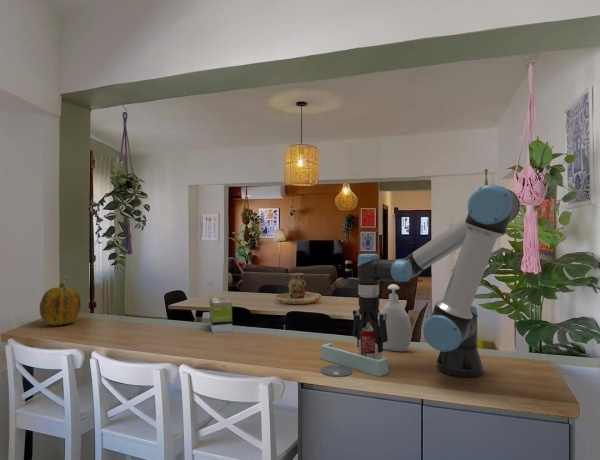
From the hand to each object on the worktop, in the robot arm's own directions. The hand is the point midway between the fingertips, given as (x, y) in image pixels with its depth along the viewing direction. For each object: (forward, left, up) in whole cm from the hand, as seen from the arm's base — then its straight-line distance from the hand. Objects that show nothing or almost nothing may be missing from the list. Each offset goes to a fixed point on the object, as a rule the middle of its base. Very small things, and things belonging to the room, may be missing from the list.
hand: (370, 358), depth 148 cm
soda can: (0, 0, -1) cm, 1 cm away
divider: (+3, +6, -2) cm, 7 cm away
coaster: (+3, +15, -2) cm, 15 cm away
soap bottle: (+4, -22, -2) cm, 23 cm away
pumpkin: (+152, +66, -2) cm, 166 cm away
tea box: (+85, +10, -2) cm, 86 cm away
